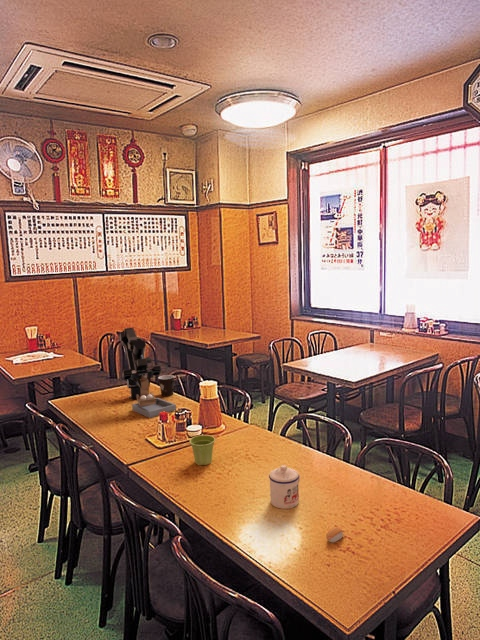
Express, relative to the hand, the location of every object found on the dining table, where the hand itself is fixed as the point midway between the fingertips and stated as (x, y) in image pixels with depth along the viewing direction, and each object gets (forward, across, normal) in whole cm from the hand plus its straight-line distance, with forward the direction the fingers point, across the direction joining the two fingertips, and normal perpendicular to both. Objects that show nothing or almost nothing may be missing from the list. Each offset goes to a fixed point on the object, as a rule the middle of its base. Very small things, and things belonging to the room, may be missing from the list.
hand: (145, 387), depth 237 cm
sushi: (+99, +24, -84) cm, 132 cm away
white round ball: (+5, +2, +2) cm, 5 cm away
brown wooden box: (+6, 0, +5) cm, 7 cm away
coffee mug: (-6, +16, +26) cm, 31 cm away
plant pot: (+56, +7, -40) cm, 69 cm away
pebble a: (+5, -2, +2) cm, 5 cm away
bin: (+8, +4, +10) cm, 14 cm away
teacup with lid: (+82, +22, -67) cm, 109 cm away
